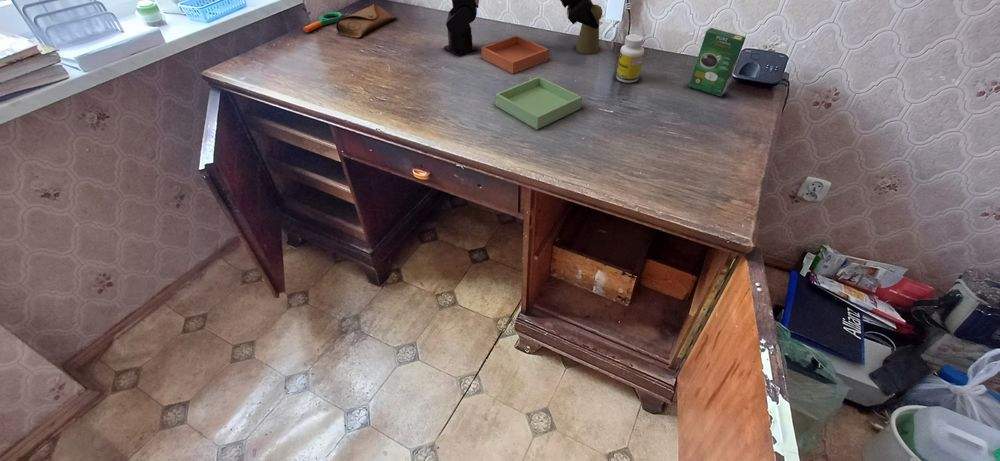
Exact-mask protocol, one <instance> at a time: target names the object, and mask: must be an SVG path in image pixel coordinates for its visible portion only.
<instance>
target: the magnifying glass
mask: <svg viewBox="0 0 1000 461" xmlns="http://www.w3.org/2000/svg"><path fill="white" fill-rule="evenodd" d="M330 17H332V18H330ZM341 18H344V17H343V13H342V12H339V11H329V12H325V13H323V14H321V15H320V16H319V18H318V19H317V20H316V21H314V22H312V23H310V24H308V25H306V26H303V28H302V29H303V31H304V32H305V33H310V32H312V31H314V30H316V29H318V28H320V27H322V26H325V25H330V24H335V23H337V22H338V21H339V20H340V19H341Z"/></svg>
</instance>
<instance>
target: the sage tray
mask: <svg viewBox="0 0 1000 461" xmlns="http://www.w3.org/2000/svg"><path fill="white" fill-rule="evenodd" d="M582 99H583V98H582V96H581V95H579V94H577V93H575V92H573V91H571V90H568V89H567V88H564V87H562V86H560V85H558V84H556V83H554V82H553V81H550V80H548V79H546V78H544V77H541V76H536V77H534V78H530V79H529V80H526V81H524V82H522V83H519V84H516V85H514V86H511V87H509V88H507V89H504V90H501V91H499V92H497V93H495V107H496V108H499V109H501V110H502V111H504V112H506V113H508V114H509V115H510V116H513V117H514V118H516V119H518V120H520V121H521V122H523V123H525V124H526V125H528V126H530V127H532V128H533V129H535V130H539V129H541V128H544V127H546V126H547V125H550V124H551V123H554V122H556V121H558V120H560V119H562V118H565V117H566V116H569V115H570V114H573V113H575V112H578V110H581V107H582Z"/></svg>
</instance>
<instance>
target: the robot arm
mask: <svg viewBox="0 0 1000 461" xmlns="http://www.w3.org/2000/svg"><path fill="white" fill-rule="evenodd" d="M559 1H560V2H561V6H563V8H566V17H567V20H569V22H570V23H571V24H572V25H575V24H576V23H580V24H581V25H582V24H584V25H587V26H589V27H592V28H594V29H597V28H598V27H599V28H600V24H599V25H598V23H597V21H596V19H595V17H594V15H593V13H592V11H591V8H592V7H593V4H594V3H593V1H592V0H559ZM451 4H452V8H450V10H449V11H448V12H447V13H448V14H447V19H446V23H445V26H446V28H447V40H448V45H445V46H443V49H444V50H446V51H447V52H449V53H451V54H453V55H455V56H457V57H459V56H463V55H465V54H468V53H471V52H474V51H477V50H478V48H477V46H475V45H473V34H472V27H471V24H472V23H473V22H474V21H475V20H476V19H477V15H478V9H479V7H480V6H479V5H480V0H451Z"/></svg>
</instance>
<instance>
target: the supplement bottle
mask: <svg viewBox="0 0 1000 461" xmlns="http://www.w3.org/2000/svg"><path fill="white" fill-rule="evenodd" d="M644 40H645V38H644V37H643V36H642V35H640V34H634V33H632V34H628V35H626V36H625V40H624V44H623V45H622V46H621V48H620V51H619V57H618V62H617V67H616V74H615V78H616V79H617V80H618V81H619V82H621V83H624V84H625V83H626V84H631V83H636V82H637V81H639V78H640V74H641V69H642V64H643V60H644V55H645V48H644V46H643V44H644Z"/></svg>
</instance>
